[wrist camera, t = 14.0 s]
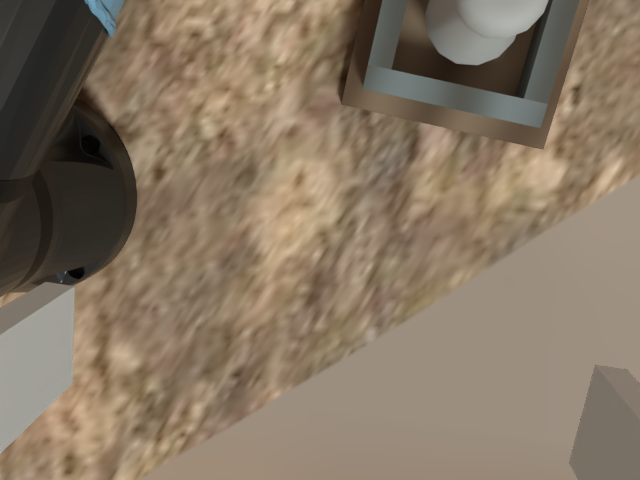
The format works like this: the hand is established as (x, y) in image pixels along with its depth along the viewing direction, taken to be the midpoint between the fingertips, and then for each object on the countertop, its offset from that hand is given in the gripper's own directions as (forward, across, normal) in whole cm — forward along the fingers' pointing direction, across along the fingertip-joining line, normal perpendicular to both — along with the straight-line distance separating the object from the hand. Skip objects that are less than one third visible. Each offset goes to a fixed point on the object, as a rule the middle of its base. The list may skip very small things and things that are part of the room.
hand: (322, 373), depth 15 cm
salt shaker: (+28, +6, +12) cm, 31 cm away
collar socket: (+29, +6, +12) cm, 32 cm away
